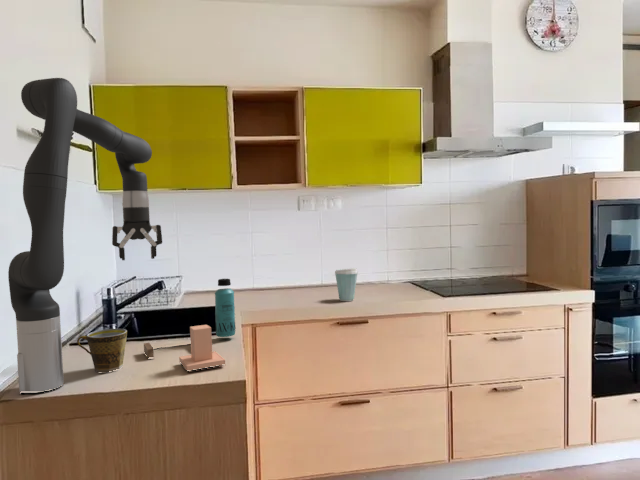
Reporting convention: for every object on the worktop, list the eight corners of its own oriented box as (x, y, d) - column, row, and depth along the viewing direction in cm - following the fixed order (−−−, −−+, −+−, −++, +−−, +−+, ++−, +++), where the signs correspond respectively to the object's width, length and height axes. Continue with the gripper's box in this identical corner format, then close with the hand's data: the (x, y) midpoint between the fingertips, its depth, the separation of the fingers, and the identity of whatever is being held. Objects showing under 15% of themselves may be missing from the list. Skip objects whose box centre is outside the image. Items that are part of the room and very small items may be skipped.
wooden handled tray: (147, 359, 142) (147, 349, 142) (144, 353, 149) (143, 343, 149) (204, 351, 149) (204, 341, 149) (198, 345, 156) (197, 336, 156)
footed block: (187, 371, 128) (185, 333, 127) (179, 362, 137) (177, 326, 136) (225, 365, 132) (223, 328, 132) (215, 356, 141) (213, 321, 141)
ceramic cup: (133, 363, 139) (132, 327, 138) (120, 374, 129) (118, 336, 128) (87, 365, 139) (85, 329, 138) (70, 376, 129) (68, 338, 128)
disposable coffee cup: (331, 301, 229) (330, 268, 228) (343, 297, 238) (342, 266, 237) (350, 303, 223) (349, 269, 222) (362, 299, 231) (362, 267, 231)
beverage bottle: (212, 339, 163) (209, 279, 162) (229, 335, 168) (226, 276, 167) (223, 342, 159) (220, 280, 158) (240, 338, 163) (237, 278, 162)
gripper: (111, 206, 145) (114, 261, 145) (162, 205, 151) (164, 258, 152) (109, 207, 151) (112, 260, 152) (158, 206, 158) (160, 257, 158)
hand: (138, 259), depth 152 cm, fingers open, 8 cm apart
